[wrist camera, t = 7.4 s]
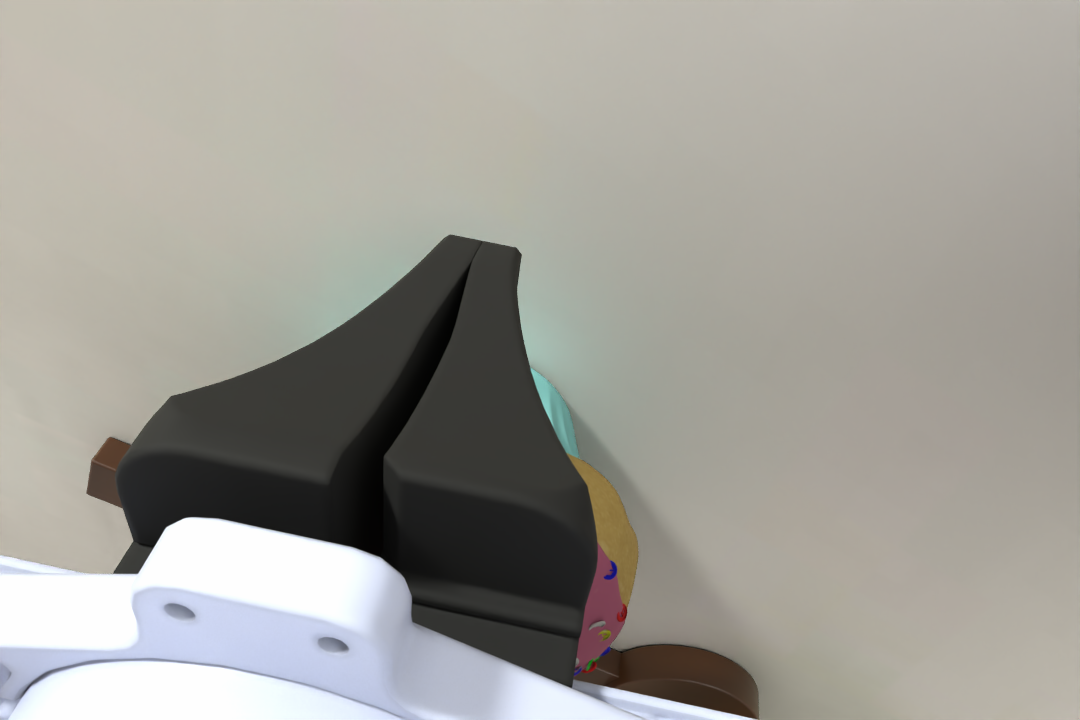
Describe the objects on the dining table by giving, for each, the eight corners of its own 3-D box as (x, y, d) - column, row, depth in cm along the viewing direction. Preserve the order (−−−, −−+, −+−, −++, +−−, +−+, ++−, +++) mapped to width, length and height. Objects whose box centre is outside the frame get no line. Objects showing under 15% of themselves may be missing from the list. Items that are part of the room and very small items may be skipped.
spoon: (791, 684, 27) (793, 720, 27) (702, 738, 31) (701, 772, 30) (115, 399, 23) (91, 431, 23) (98, 498, 27) (76, 528, 26)
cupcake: (497, 556, 25) (373, 1067, 17) (253, 395, 22) (-56, 914, 14) (722, 431, 20) (718, 1062, 12) (449, 202, 17) (162, 820, 9)
